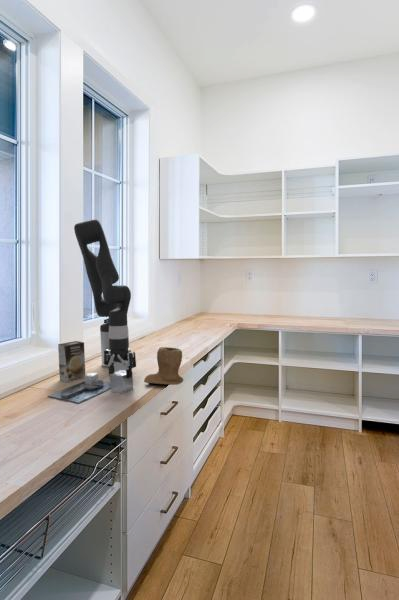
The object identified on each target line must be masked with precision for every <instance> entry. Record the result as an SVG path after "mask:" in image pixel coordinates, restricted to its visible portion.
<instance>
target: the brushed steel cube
mask: <svg viewBox="0 0 399 600" xmlns="http://www.w3.org/2000/svg"><path fill="white" fill-rule="evenodd" d="M133 374H134V373H133V372H132V377H131V378H129V379H127V378H126V371H124V370H119V371H116V372H114V373H111V374H109V381H110V387H111V389H110V392H111V393H112V392H113V393H117V394H123V395H124V394H125V393H128V392H129V391H131V390H133V389H134V378H133Z"/></svg>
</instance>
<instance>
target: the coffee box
mask: <svg viewBox="0 0 399 600" xmlns="http://www.w3.org/2000/svg"><path fill="white" fill-rule="evenodd" d="M57 347H58V349H57V350H58V367H59V368H58V369H59V373H58V374H59V381H60V382H64V383H67V384H68V383H71V382H76V381H79V380H83V379H85V375H86V357H85V355H86V354H85V342H83V341H78V340H74V341H69V342H64V343H58V344H57Z"/></svg>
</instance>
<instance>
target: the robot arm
mask: <svg viewBox="0 0 399 600" xmlns="http://www.w3.org/2000/svg"><path fill="white" fill-rule="evenodd" d="M73 229H74V234H75V237H76V240H77V244H78V247H79V249H80V252H81V255H82V260H83V262H84V263H83V264H84V266H85V271H86V275H87V279H88V282H89V285H90V288H91V292H92V296H93V302H94V308H95V312H96V315H97V316H98V317H100V318H101V317H102V318H108V321H107V322H105V323H103V324H101V325H100V326H99V330H100V331H99V332H100V350H101V351H100V354H101V366H102V367H107V368H108V375H110V374H111V373H114V372H115V371H114V364H115V362H119V363H122V364H123V365H124V366H125V367H126V378H127V379H129V378H131V377H132V373H133V369H134V368H137V359H136V353H135V351H131V353H129V352H128V348H129V347H130V341H129V340H130V339H129V336H130V335H129V327H128V312H129V307H130V303H131V299H132V293H131V289H130V287H129V286H127V285H126V284H125V285H124V284H119V285H114V284H116V283H117V282H118V281H119V279H120V275H119V273H118V270H117V269H116V266H115V264H114V262H113V259H112V254H111V251H110V248H109V244H108V241H107V238H106V235H105V231H104V228H103V226H102V224H101V221H100V220H99V219H95V218H94V219H89V220H85V221H82V222H78V223H76V224H75V225H74V227H73ZM98 242H99V248H98V254H97V255H96V254H95V253H94V252H93V251H92V250H91V249H90V248H89V246H88V245H90V244H95V243H98ZM128 356H129V357H128ZM125 361H126V362H125Z"/></svg>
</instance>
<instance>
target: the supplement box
mask: <svg viewBox="0 0 399 600" xmlns="http://www.w3.org/2000/svg"><path fill="white" fill-rule="evenodd" d="M128 352H129V353H132V349H131V348H130V346H129V348H128ZM128 357H129V356H128ZM125 362H126V361H125ZM119 370H124V371H126V367H125V366H124V365H123V364H122V363H119V362H115V364H114V371H115V372H116V371H119Z"/></svg>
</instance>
